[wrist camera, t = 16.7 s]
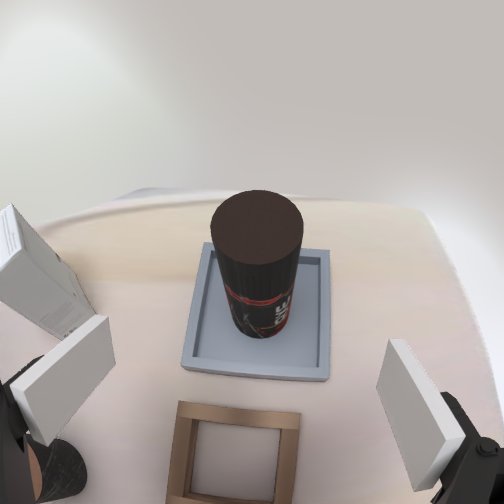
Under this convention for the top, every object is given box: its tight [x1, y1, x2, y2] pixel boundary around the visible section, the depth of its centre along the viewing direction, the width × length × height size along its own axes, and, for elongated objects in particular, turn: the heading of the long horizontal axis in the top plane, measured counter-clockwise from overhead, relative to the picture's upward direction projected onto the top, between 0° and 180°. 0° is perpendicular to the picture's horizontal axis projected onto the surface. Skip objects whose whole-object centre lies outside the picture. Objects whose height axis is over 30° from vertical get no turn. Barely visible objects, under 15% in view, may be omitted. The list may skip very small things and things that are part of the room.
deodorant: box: [210, 190, 304, 339], centre depth 27 cm, size 6×6×15 cm
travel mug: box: [25, 433, 87, 504], centre depth 15 cm, size 8×8×20 cm
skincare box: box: [0, 203, 95, 341], centre depth 28 cm, size 8×6×15 cm
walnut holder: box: [166, 401, 301, 504], centre depth 24 cm, size 11×11×3 cm
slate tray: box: [181, 242, 330, 382], centre depth 33 cm, size 14×14×2 cm
